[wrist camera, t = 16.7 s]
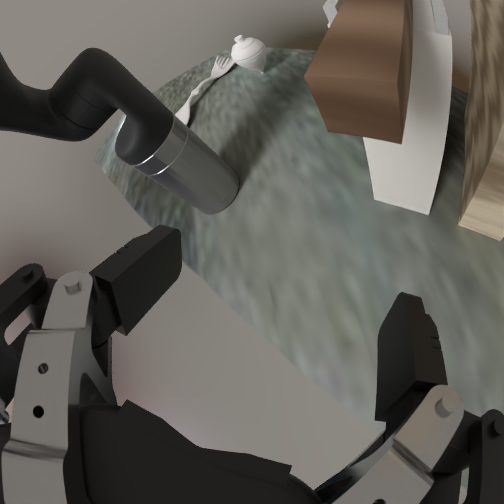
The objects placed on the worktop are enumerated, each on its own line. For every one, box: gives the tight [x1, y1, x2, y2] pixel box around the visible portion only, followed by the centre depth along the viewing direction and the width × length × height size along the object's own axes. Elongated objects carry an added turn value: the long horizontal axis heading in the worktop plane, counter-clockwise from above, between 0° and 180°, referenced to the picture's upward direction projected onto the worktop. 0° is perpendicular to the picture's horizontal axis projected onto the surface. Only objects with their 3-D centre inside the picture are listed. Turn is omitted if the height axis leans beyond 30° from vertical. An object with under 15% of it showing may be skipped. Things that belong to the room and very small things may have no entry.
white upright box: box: [323, 0, 452, 215], centre depth 21 cm, size 20×8×28 cm, turn 154°
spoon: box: [175, 55, 235, 126], centre depth 59 cm, size 9×32×4 cm, turn 145°
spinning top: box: [231, 35, 266, 74], centre depth 48 cm, size 8×8×12 cm
